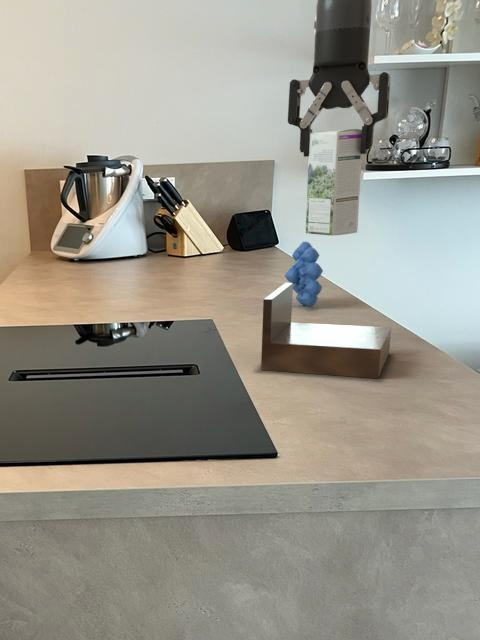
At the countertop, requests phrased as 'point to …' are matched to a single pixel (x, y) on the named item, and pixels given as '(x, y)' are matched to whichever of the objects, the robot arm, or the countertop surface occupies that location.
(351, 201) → the syrup box
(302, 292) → the grapes
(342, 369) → the metal l-shaped bookend
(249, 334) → the countertop surface
